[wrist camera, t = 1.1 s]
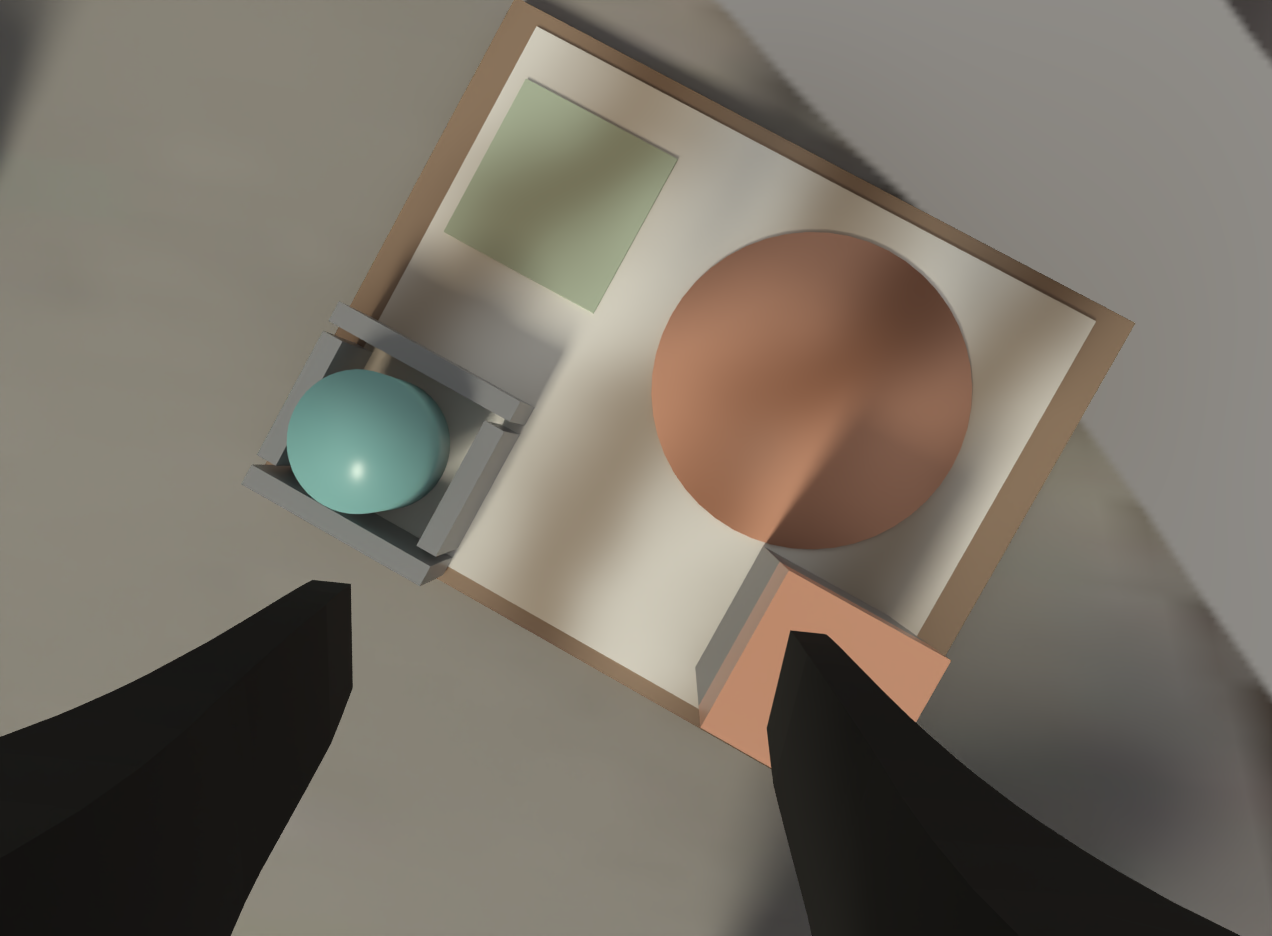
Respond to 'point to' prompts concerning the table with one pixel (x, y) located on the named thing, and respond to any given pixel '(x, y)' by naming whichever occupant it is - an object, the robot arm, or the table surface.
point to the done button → (367, 442)
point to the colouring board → (712, 364)
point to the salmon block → (757, 638)
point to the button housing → (370, 530)
